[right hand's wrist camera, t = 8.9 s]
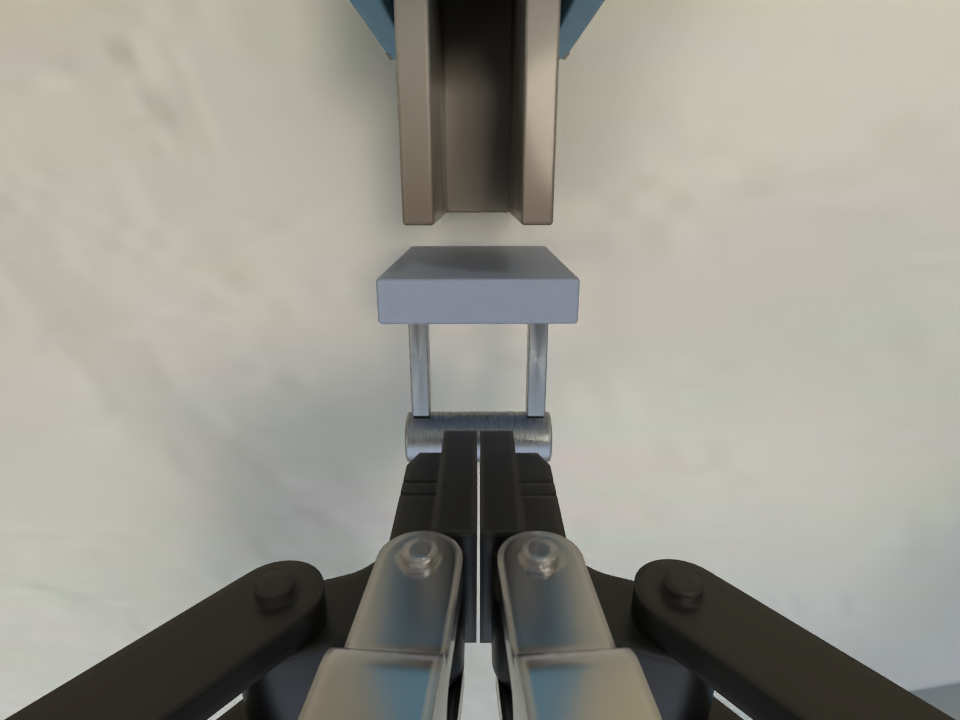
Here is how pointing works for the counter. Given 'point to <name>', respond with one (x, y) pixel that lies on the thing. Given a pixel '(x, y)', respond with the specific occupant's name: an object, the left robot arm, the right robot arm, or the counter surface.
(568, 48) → the cabinet
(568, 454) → the counter surface
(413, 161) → the drawer
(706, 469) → the counter surface
